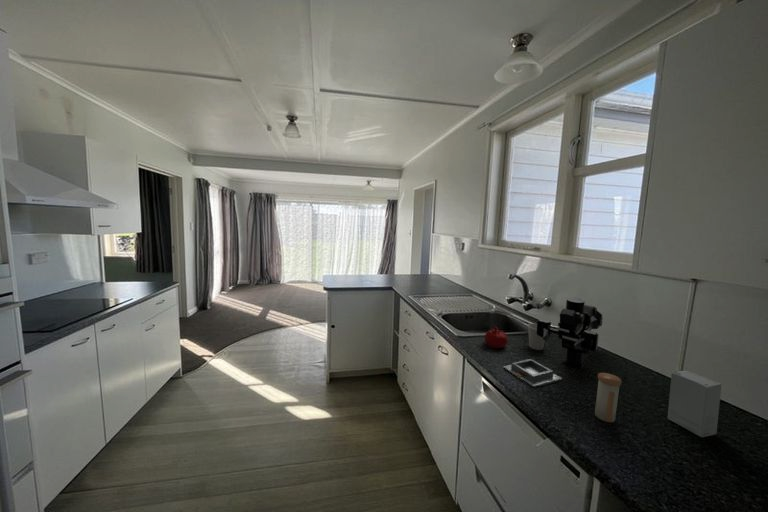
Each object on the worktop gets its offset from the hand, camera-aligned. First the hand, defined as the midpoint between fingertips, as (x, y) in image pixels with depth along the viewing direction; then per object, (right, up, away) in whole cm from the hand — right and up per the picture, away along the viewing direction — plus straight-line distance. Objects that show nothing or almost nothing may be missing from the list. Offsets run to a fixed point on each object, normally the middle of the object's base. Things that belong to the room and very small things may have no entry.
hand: (558, 342), depth 97 cm
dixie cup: (+11, -13, +34) cm, 38 cm away
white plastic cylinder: (+6, -18, -12) cm, 23 cm away
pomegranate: (-8, -12, +35) cm, 38 cm away
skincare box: (+28, -19, -16) cm, 38 cm away
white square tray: (-4, -15, +11) cm, 19 cm away
